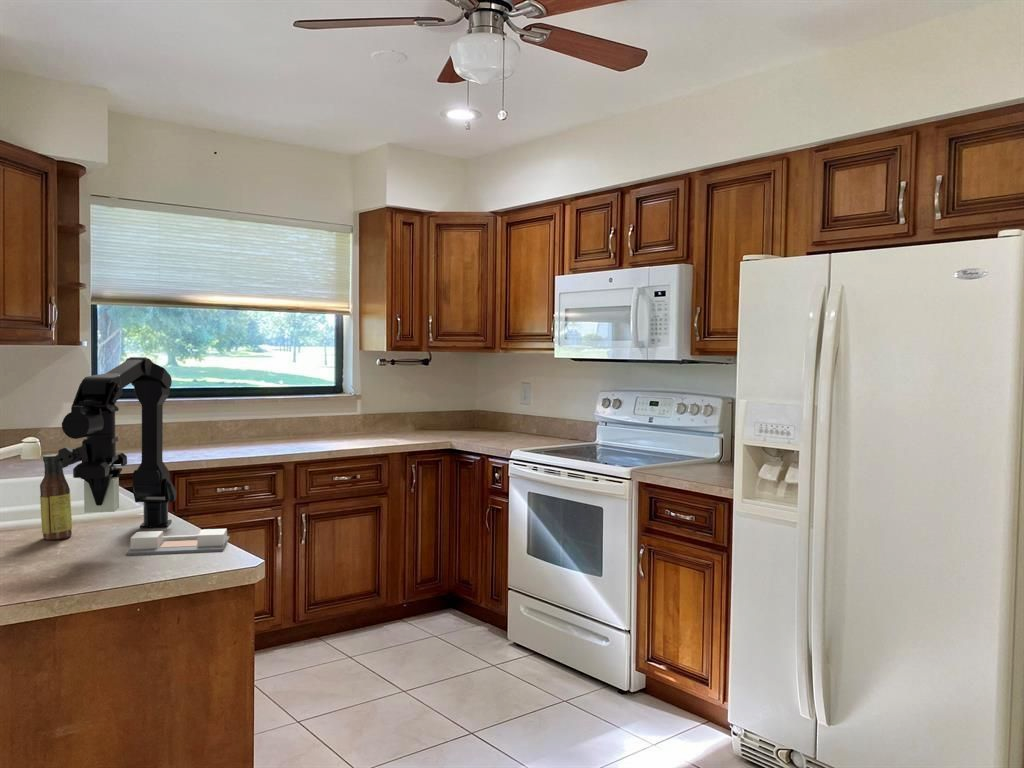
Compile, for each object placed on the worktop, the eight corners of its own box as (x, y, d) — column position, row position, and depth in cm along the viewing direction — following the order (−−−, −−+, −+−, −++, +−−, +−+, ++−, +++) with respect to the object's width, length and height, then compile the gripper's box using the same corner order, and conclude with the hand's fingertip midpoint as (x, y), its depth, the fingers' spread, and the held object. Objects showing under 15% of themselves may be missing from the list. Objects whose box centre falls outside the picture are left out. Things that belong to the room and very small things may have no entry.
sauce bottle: (77, 534, 191) (76, 453, 190) (63, 541, 185) (62, 456, 184) (49, 534, 191) (48, 452, 190) (35, 540, 185) (33, 456, 184)
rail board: (139, 542, 185) (139, 529, 185) (229, 538, 189) (229, 525, 189) (126, 555, 173) (126, 541, 173) (222, 551, 178) (222, 537, 177)
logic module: (90, 508, 177) (89, 477, 177) (119, 508, 178) (118, 476, 178) (84, 512, 173) (83, 480, 173) (114, 511, 174) (113, 479, 174)
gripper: (74, 429, 182) (76, 496, 183) (45, 439, 164) (46, 513, 165) (127, 428, 184) (128, 495, 185) (103, 438, 166) (104, 511, 167)
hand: (102, 503), depth 175 cm, fingers closed on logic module, 4 cm apart
